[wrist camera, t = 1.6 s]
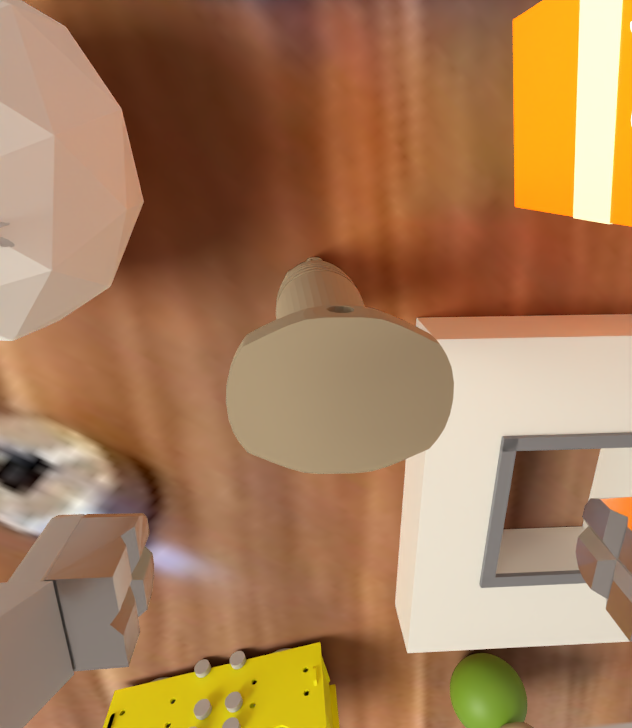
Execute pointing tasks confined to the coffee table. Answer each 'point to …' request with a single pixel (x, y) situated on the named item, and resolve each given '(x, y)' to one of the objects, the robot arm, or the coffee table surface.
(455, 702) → the snail figurine
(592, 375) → the socket board
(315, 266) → the handle
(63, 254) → the geodesic sphere
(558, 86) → the orange juice
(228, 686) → the yellow toy chassis
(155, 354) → the coffee table surface
